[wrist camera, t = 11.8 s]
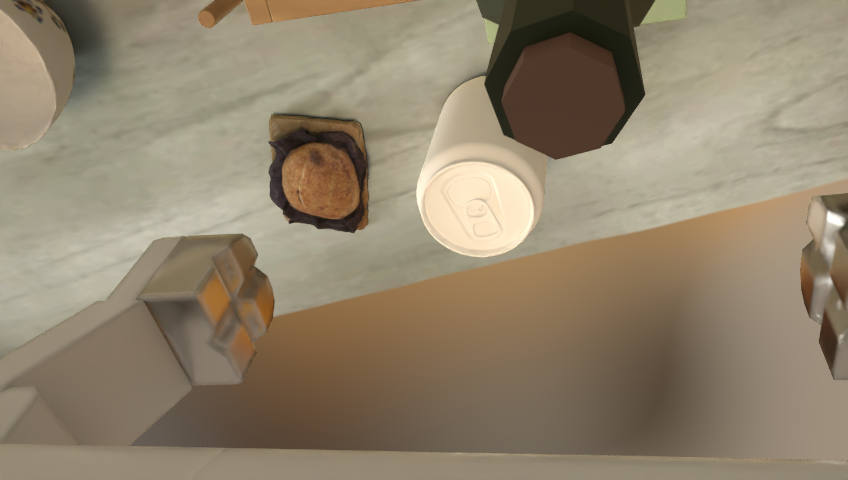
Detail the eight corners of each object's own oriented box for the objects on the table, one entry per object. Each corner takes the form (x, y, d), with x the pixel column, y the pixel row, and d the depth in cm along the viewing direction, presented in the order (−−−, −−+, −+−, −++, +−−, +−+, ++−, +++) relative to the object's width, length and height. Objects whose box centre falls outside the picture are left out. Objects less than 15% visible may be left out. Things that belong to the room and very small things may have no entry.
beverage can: (528, 56, 49) (517, 138, 39) (563, 152, 53) (560, 247, 43) (425, 91, 52) (391, 175, 42) (464, 179, 56) (441, 274, 46)
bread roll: (266, 109, 55) (248, 131, 52) (369, 120, 54) (357, 143, 51) (279, 218, 62) (264, 243, 59) (371, 230, 61) (361, 256, 58)
